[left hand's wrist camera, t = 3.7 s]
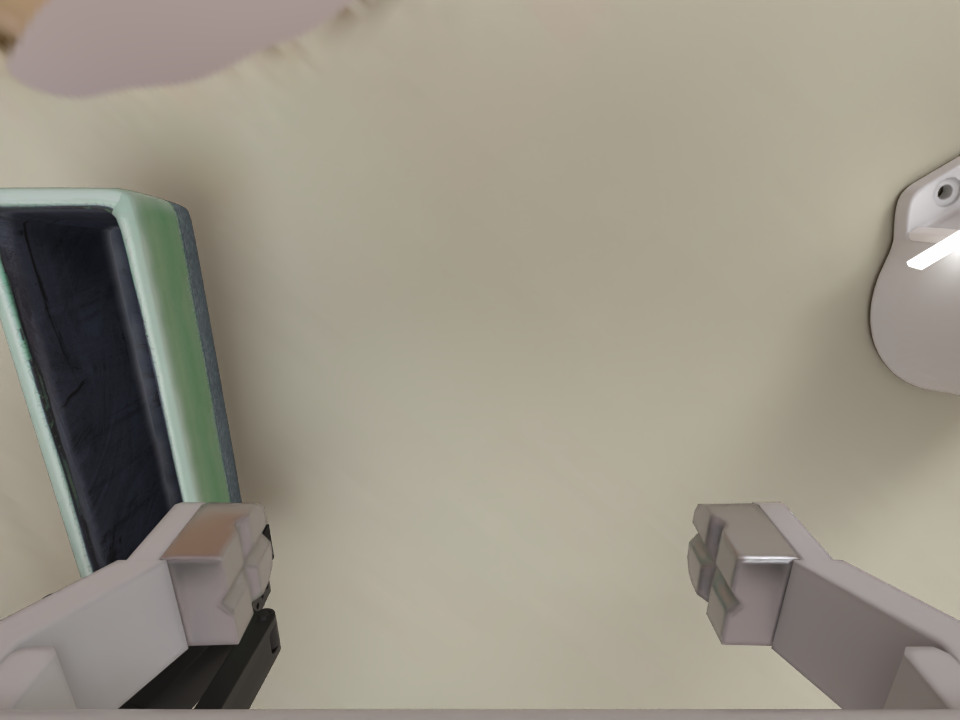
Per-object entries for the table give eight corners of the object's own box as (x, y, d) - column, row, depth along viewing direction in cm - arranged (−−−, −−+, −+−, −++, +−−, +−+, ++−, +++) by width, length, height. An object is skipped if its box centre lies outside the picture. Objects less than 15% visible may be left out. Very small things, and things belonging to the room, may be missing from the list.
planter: (71, 180, 30) (-46, 188, 23) (205, 180, 30) (129, 187, 23) (170, 586, 39) (108, 676, 33) (271, 585, 39) (231, 673, 33)
